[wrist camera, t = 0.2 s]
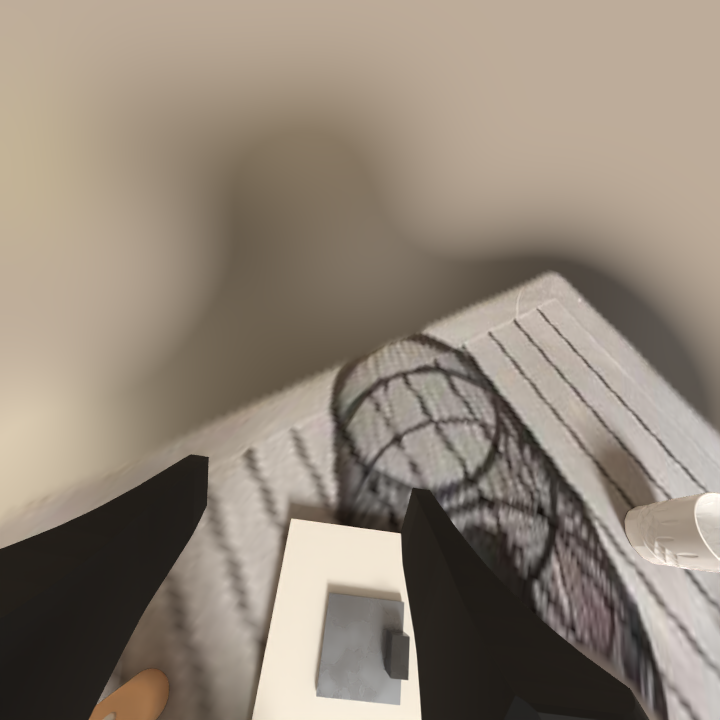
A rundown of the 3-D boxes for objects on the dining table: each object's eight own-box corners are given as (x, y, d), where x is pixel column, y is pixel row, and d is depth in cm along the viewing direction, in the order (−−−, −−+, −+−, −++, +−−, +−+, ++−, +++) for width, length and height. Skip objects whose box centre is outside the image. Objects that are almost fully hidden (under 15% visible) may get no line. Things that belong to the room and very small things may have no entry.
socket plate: (443, 789, 31) (453, 807, 29) (243, 771, 30) (238, 789, 27) (442, 540, 41) (449, 540, 38) (292, 520, 39) (291, 518, 37)
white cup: (608, 526, 44) (681, 521, 36) (638, 490, 47) (712, 477, 39) (659, 585, 42) (753, 595, 33) (688, 542, 45) (780, 541, 36)
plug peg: (158, 730, 30) (113, 787, 23) (111, 726, 30) (51, 781, 23) (176, 670, 32) (139, 706, 25) (132, 666, 32) (82, 700, 25)
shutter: (398, 701, 31) (407, 716, 28) (315, 693, 31) (317, 707, 28) (402, 601, 35) (410, 605, 32) (329, 592, 34) (331, 596, 32)
